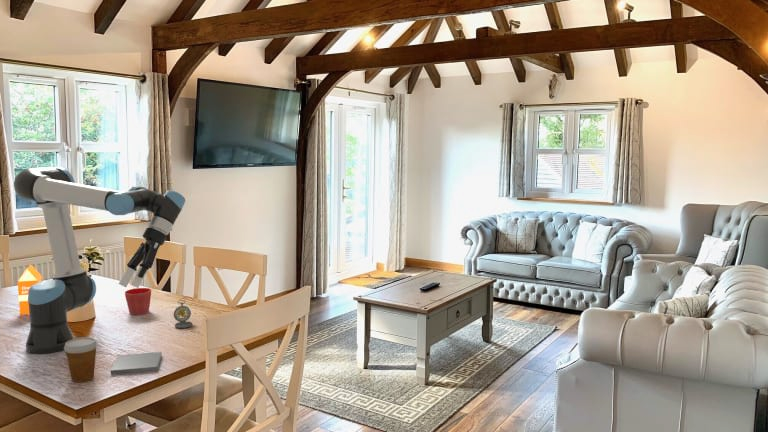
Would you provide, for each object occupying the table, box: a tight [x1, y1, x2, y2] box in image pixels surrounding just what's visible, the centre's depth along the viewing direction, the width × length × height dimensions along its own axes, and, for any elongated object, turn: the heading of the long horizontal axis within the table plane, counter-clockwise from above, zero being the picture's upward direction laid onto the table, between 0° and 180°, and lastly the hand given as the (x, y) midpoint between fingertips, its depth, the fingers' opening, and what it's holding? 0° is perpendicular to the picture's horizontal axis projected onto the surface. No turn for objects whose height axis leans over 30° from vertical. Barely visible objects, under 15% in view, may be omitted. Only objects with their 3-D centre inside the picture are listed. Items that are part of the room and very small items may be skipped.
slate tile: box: [110, 351, 162, 376], centre depth 202 cm, size 14×14×2 cm
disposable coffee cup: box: [63, 337, 98, 383], centre depth 190 cm, size 10×10×12 cm
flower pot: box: [124, 287, 152, 316], centre depth 261 cm, size 11×11×10 cm
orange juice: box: [17, 264, 43, 315], centre depth 261 cm, size 8×9×20 cm
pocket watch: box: [173, 299, 193, 329], centre depth 244 cm, size 8×8×10 cm
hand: (128, 285), depth 207 cm, fingers open, 13 cm apart
